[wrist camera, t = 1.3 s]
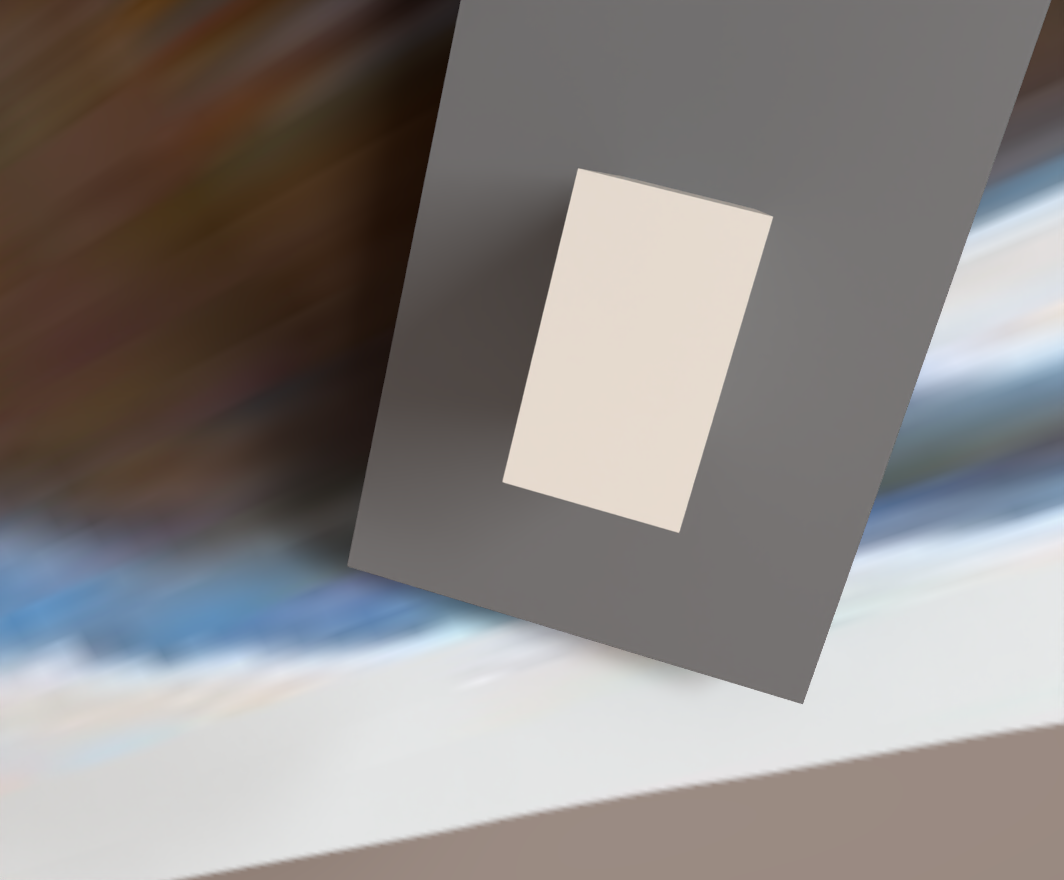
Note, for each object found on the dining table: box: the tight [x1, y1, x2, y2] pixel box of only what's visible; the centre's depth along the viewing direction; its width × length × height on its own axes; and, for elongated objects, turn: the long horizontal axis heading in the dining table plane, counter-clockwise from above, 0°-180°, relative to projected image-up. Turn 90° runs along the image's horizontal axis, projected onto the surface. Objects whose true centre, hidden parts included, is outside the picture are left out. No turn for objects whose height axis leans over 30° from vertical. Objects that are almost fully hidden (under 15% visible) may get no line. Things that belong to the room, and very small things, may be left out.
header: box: [347, 0, 1051, 704], centre depth 29 cm, size 20×14×4 cm
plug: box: [502, 168, 773, 533], centre depth 24 cm, size 6×4×13 cm, turn 166°
